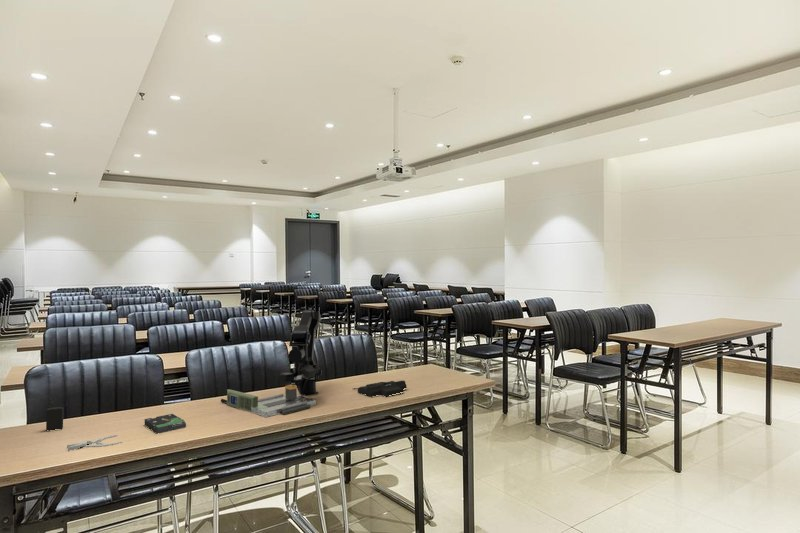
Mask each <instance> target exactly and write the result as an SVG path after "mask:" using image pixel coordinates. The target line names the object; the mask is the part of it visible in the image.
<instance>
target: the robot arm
mask: <svg viewBox="0 0 800 533" xmlns="http://www.w3.org/2000/svg"><path fill="white" fill-rule="evenodd" d="M321 321H322V315H321V314H320V313H319V312H318V311H315V310H313V309H304V310H302V313H301V318H300V321H299V323H298V326H296V327H295V326H294V328H293V330H292V332H291V333H290V339H289V343H288V344H289V347H292V349H290V351H289V352H288V355H287V356H288V360H289V361H290V362H292V364H293V366H294V367H293V369H292V372H287V371H285V372H281V373H280V374H279V376H278V380H279V381H281V382H284V383H286V382H287V383H288V382H293V383H294V385H295V386H297V392H298V395H302V396H305V397H307V396H311V395H316V394H318V393H319V392H318V391H317V390H316V388H317V381H319V378H320V376H322V375H323V374H322V373H323V372H322V368H320V366H319V364H318V363H317V364H316V363H315V361H314V355H315V354H314V352H315V342H316V340H315V338H316V331H317V330H318V329H319V327H320V323H321Z"/></svg>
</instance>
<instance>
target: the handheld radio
mask: <svg viewBox="0 0 800 533" xmlns="http://www.w3.org/2000/svg"><path fill="white" fill-rule="evenodd" d="M226 391H227V393H226V399H224V398H221V399H220V402H221V403H223V404H224V403H225V404H226V406H228V405H229V407H232V408H236V409H238V410H239V409H240V410H242V411H245V410H246V412H249V413H253V412H252V411H251V407H255V406H258V401H259V396H257V395H253V394H249V393H245V392H242V391H238V390H233V389H226ZM253 414H254V413H253Z"/></svg>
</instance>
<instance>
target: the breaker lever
mask: <svg viewBox="0 0 800 533" xmlns="http://www.w3.org/2000/svg"><path fill="white" fill-rule="evenodd" d="M284 388H285V392H284V394H285V395H284V396H286V399H288V400H294V399H297V395H298V393H297V392H298V389H297V386H296V385H295V384H287V385H285V386H284Z"/></svg>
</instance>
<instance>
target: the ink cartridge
mask: <svg viewBox="0 0 800 533" xmlns="http://www.w3.org/2000/svg"><path fill="white" fill-rule="evenodd" d="M45 414H46V416H45V417H46V419H45V420H46V421H45V422H46V423H45V425H46V426H45V431H46V432H48V431H47V430H55V429H61V430H63V428H64V406H63V407H62V406H58V407H50V408H47V409H46V412H45ZM55 431H56V430H55Z"/></svg>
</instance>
